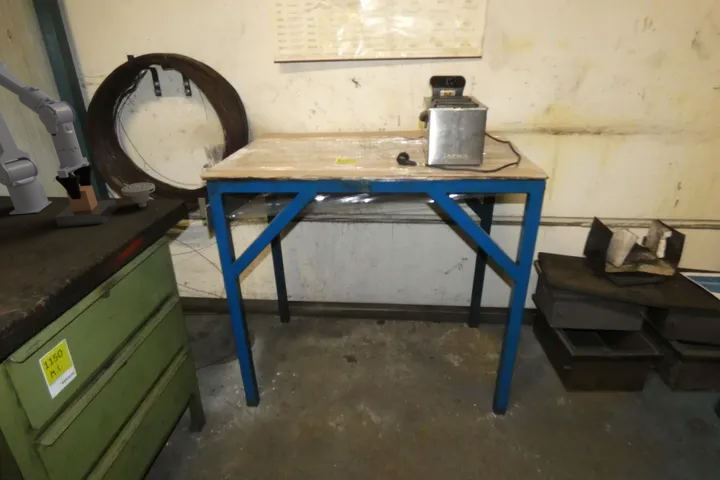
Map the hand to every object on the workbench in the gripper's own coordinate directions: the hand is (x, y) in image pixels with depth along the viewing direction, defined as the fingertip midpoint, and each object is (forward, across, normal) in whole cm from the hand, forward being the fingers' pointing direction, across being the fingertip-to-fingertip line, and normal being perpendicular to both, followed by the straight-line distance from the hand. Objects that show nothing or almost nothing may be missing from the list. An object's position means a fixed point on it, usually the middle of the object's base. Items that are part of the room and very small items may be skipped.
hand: (82, 194), depth 123 cm
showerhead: (+7, +7, -13) cm, 17 cm away
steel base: (+7, 0, 0) cm, 7 cm away
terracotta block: (+4, 0, 0) cm, 4 cm away
